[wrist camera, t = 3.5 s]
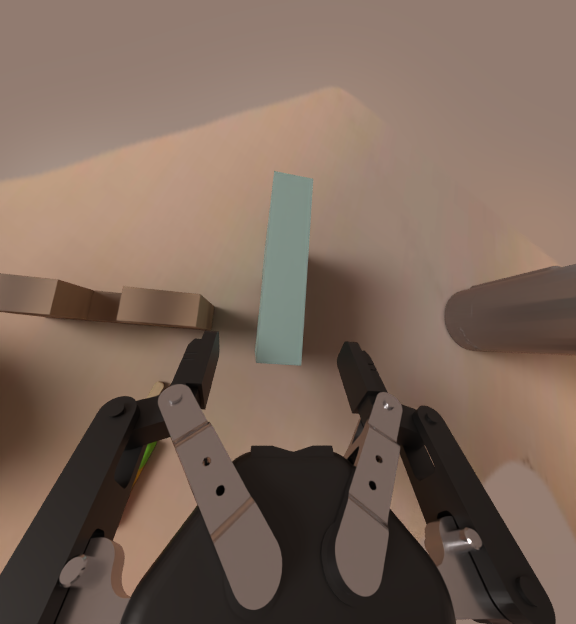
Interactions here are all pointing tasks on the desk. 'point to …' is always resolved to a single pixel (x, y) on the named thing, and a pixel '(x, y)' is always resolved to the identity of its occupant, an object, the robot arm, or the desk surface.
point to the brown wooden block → (103, 303)
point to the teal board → (285, 272)
